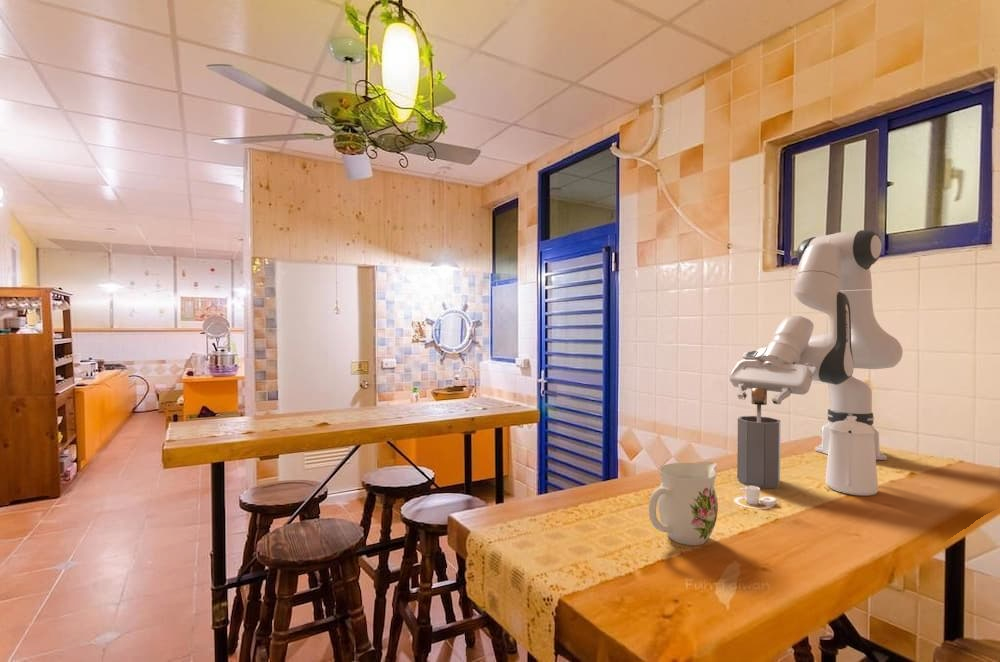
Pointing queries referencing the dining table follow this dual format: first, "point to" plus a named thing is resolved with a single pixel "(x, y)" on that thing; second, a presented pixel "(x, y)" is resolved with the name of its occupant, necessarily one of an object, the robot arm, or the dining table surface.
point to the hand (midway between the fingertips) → (757, 400)
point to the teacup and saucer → (755, 498)
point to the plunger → (759, 400)
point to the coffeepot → (852, 458)
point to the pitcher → (686, 502)
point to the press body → (758, 452)
